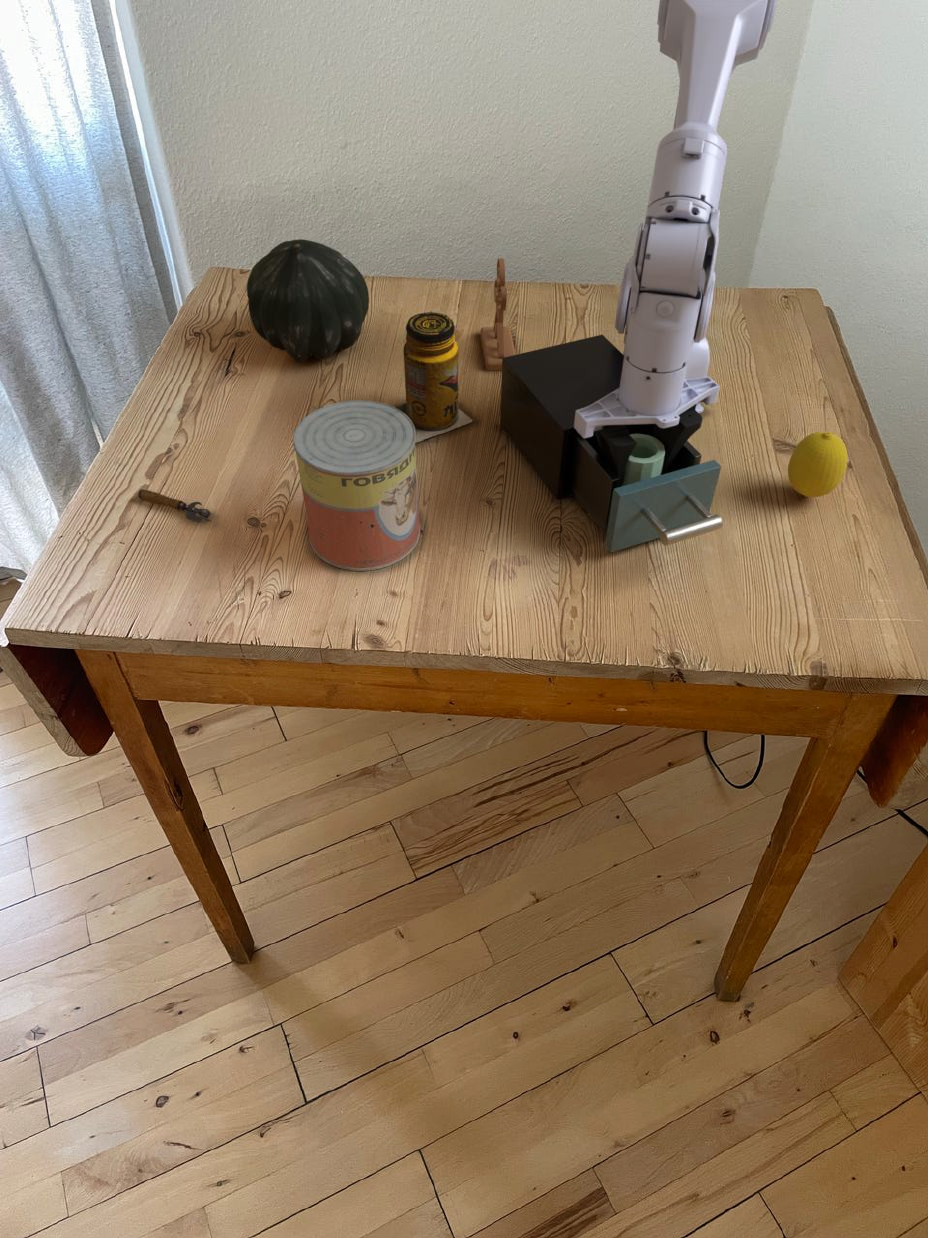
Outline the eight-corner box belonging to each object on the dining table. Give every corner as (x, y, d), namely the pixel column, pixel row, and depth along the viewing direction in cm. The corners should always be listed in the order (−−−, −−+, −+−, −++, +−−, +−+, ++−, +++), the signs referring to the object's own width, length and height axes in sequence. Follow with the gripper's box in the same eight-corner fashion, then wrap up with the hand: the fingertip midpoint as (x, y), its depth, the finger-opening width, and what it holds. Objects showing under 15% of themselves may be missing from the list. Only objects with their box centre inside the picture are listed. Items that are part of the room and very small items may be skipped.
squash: (318, 257, 121) (253, 198, 107) (406, 294, 116) (349, 236, 102) (271, 353, 122) (201, 307, 108) (356, 394, 117) (293, 351, 103)
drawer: (735, 553, 89) (752, 496, 83) (636, 585, 86) (647, 528, 80) (638, 449, 100) (648, 393, 95) (548, 474, 97) (553, 418, 92)
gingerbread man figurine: (480, 333, 118) (481, 243, 110) (509, 332, 119) (513, 242, 110) (486, 370, 112) (488, 278, 103) (517, 369, 113) (522, 277, 104)
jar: (641, 468, 94) (648, 428, 91) (665, 495, 91) (674, 455, 88) (601, 480, 93) (607, 440, 89) (625, 507, 90) (632, 467, 86)
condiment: (473, 422, 105) (474, 327, 96) (410, 446, 102) (405, 350, 93) (439, 392, 109) (437, 299, 100) (378, 414, 106) (370, 320, 97)
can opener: (138, 500, 95) (135, 492, 94) (153, 488, 96) (150, 479, 96) (206, 528, 92) (203, 519, 91) (220, 515, 94) (218, 506, 93)
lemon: (834, 485, 97) (858, 423, 91) (831, 517, 94) (856, 454, 88) (782, 474, 98) (802, 412, 93) (777, 506, 95) (797, 443, 89)
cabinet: (657, 471, 99) (671, 401, 92) (557, 500, 95) (563, 430, 89) (593, 401, 108) (602, 334, 101) (499, 426, 104) (502, 357, 98)
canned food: (377, 586, 87) (367, 488, 78) (286, 544, 91) (267, 446, 82) (441, 520, 93) (439, 423, 84) (353, 483, 97) (342, 387, 88)
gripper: (607, 397, 77) (591, 518, 87) (750, 360, 81) (718, 481, 91) (568, 356, 81) (557, 476, 91) (705, 323, 85) (680, 442, 95)
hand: (635, 476), depth 91 cm, fingers closed on jar, 5 cm apart
